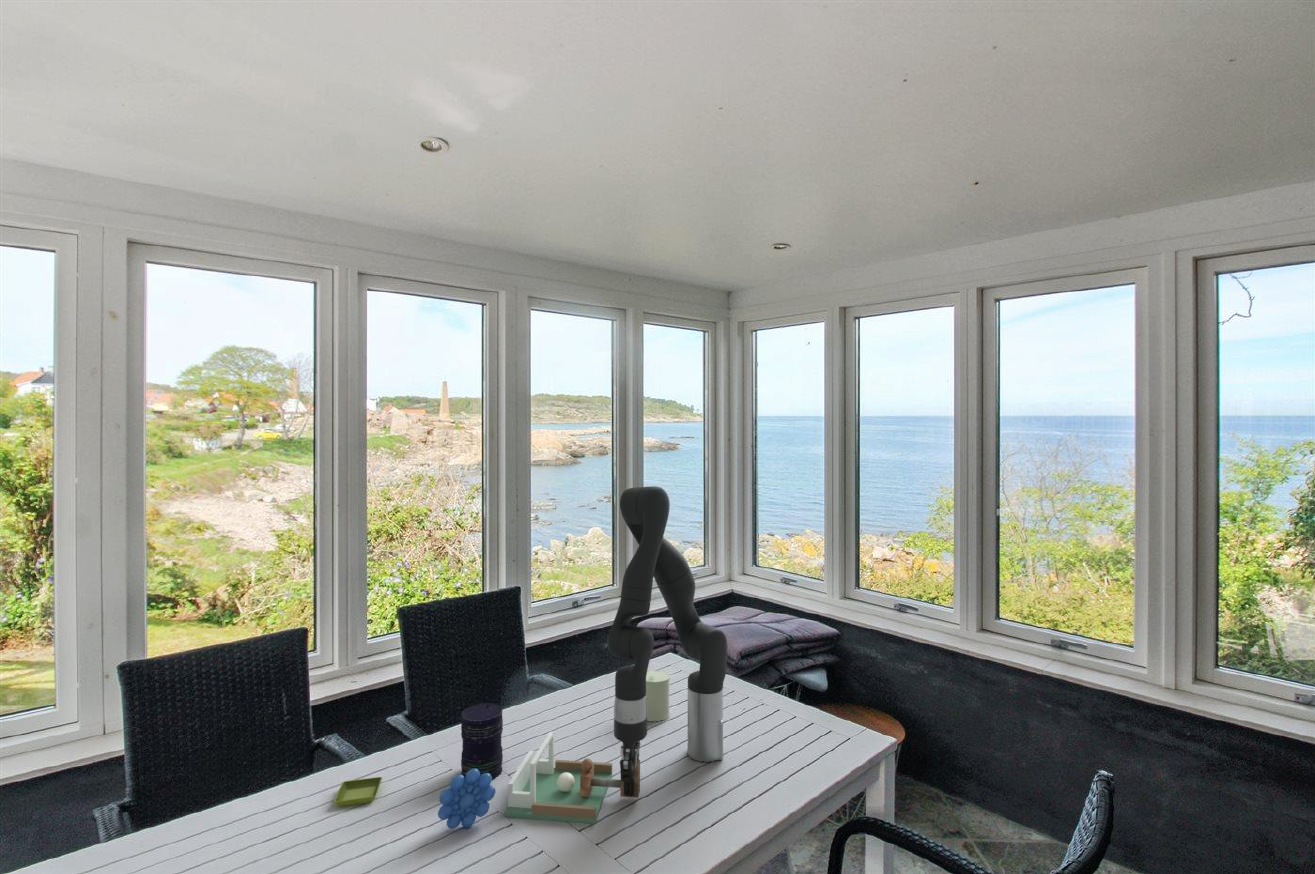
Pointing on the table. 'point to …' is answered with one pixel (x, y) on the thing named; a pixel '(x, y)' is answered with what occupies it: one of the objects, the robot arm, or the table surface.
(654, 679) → the can
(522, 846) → the table surface
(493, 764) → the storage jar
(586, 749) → the table surface
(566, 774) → the ball
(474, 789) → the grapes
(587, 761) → the kicker
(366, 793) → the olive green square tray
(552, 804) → the pitch
